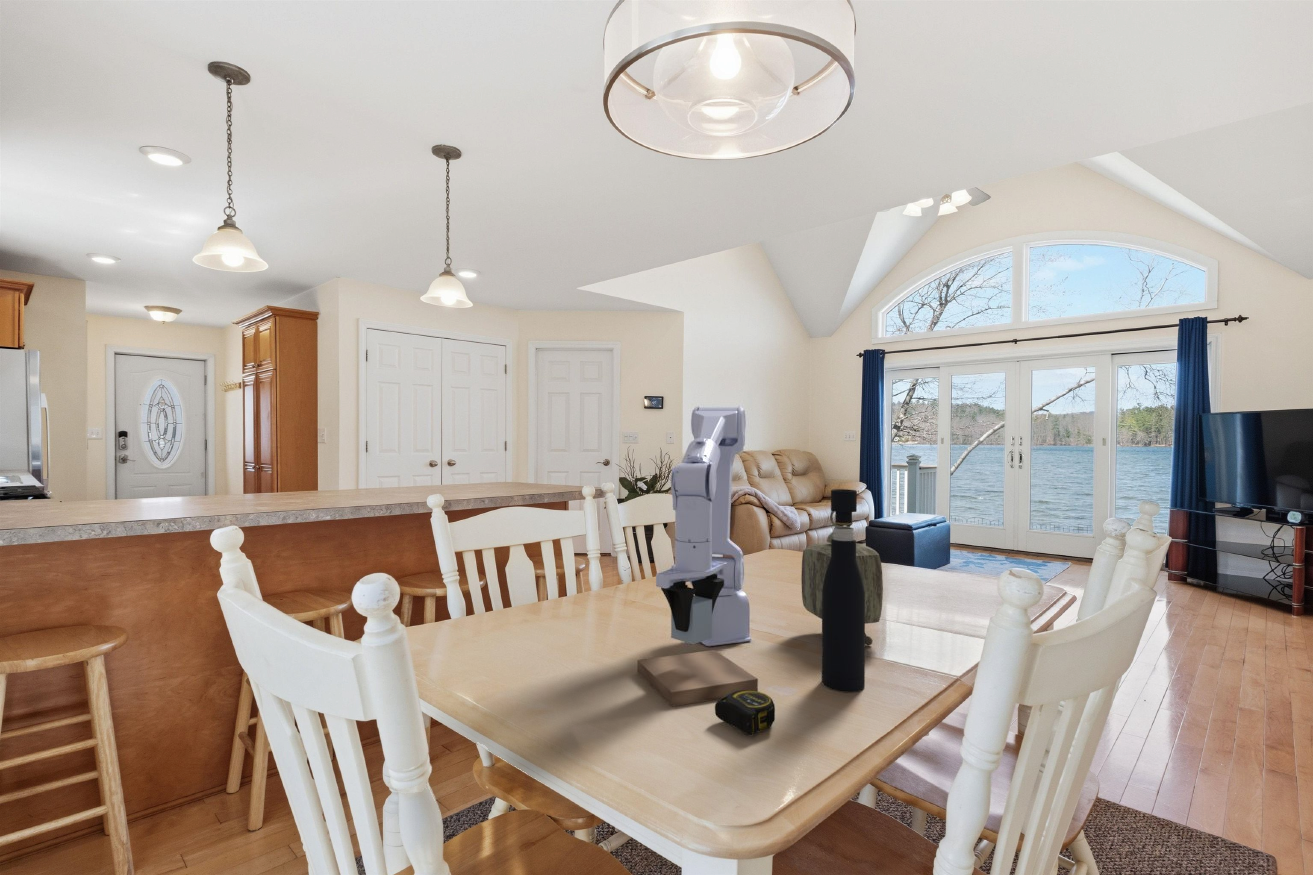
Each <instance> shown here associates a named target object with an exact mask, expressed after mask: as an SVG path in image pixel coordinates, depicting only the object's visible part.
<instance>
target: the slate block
mask: <svg viewBox="0 0 1313 875" xmlns="http://www.w3.org/2000/svg"><path fill="white" fill-rule="evenodd" d="M670 613H671V614H670V617H671V618H670V619H671V620H670V626H671V627H670V634H671V635H670V637H671V638H670V639H674V640H677V641H681V642H683V643H687V644H690V645H695V644H698V643H701V642H702V641H705V640H708V639H711V638H712V599H707V598H703V597H699V596H695V595H694V596H693V600H692V604H691V609H690V623H689V629H688V631H687V632H683V631H679V630H676V628H675V624H674V619H673V616H672V612H671V611H670Z"/></svg>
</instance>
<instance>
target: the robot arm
mask: <svg viewBox="0 0 1313 875" xmlns="http://www.w3.org/2000/svg"><path fill="white" fill-rule="evenodd" d="M746 419H747V418H746V410H745V409H744V408H743V406H741V405H739V406H733V407H732V406H720V407H719V406H718V407H717V406H716V407H714V406H712V407H711V406H709V407H708V406H707V407H706V406H705V407H704V406H703V407H700V406H695V407H694V409H692V412H691V419H690V428H691V434H692V436H693V439H694V440H692V441H690V442H689V444H688V446H687V448H686V451H685V453H684V456H683V458H682V461H681V462H680V463H678V464H677V466H676V465H674V466H673V467H672V469H671V475H670V492H671V497H672V510H673V511H675V513H674V514H675V515H674V516H675V517H674V518H675V520H674V522H675V523H674V524H675V525H674V528H675V529H674V536H675V537H674V538H675V539H674V542H675V543H674V564H671V568H669V569H668V568H667V569H666V570H664V571H661V572H658V573H657V572H656V574H655V586H656V587H658V588H660V590H661V591H662V593H663V595H664V597H665V599H666V600H667V603H668V606H669V608H670V613H671V612H672V616H673V619H674V624H675V628H676V630H679V631H683V632H687V631H688V629H689V623H690V609H691V604H692V600H693V596H699V597H703V598H707V599H712V638H711V639H708V640H705V641H702V642H700V643H702V644H703V645H704V646H706V647H712V646H713V647H714V646H721V645H729V644H736V643H744V642H752V637H751V636H750V634H751V633H750V632H751V631H750V628H751V627H750V621H751V620H750V619H751V618H750V615H751V613H750V612H751V611H750V610H751V609H750V602H749V597H748V595H747V594H746V592H745V591H743V590H742V589H743V587H744V579H745V563H744V552H743V551H742V549H741V548H740V547H739V546H738V545H737V544H736V543H734V542H733V541H732V540H731V539H730V533H731V512H732V511H731V509H732V508H731V507H732V505H731V504H732V484H733V483H732V482H733V480H732V479H733V465H734V461H735V458H736V455H737V454H740V453H742V452H744V446H745V444H746V425H747V424H746V421H747V420H746ZM712 555H713V556H712ZM714 555H723V556H714ZM728 556H730V557H728ZM731 556H732V557H731ZM687 583H689V584H690V586H691V587H690V586H689V585H688V584H687Z"/></svg>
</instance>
